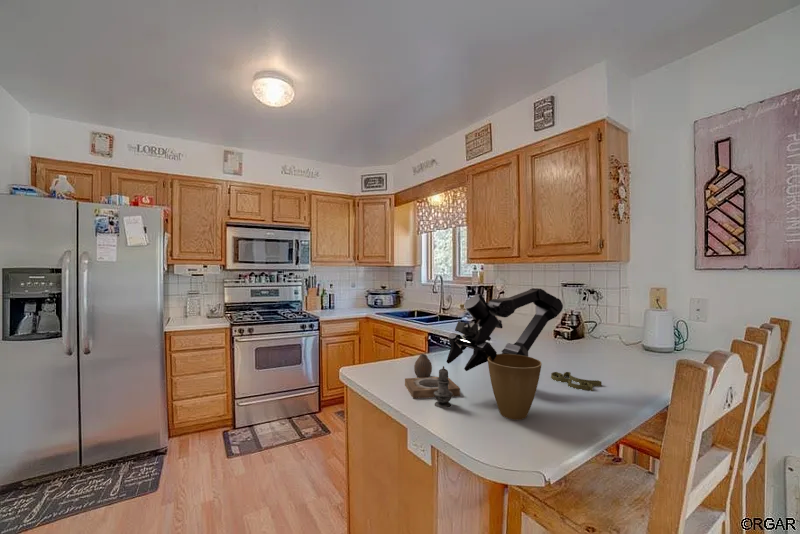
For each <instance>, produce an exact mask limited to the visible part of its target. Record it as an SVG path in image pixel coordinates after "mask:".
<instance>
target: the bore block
mask: <svg viewBox="0 0 800 534" xmlns="http://www.w3.org/2000/svg"><path fill="white" fill-rule="evenodd" d="M438 380H439V376H429V377H425V378H418V377H407V378H404V386H405V388H406V389H408V390H407V391H408V393H409V394H410V396H411V398H412V399H427V398H429V397H430V398H435V395H434V392H435V391H437V390H438ZM448 380H449V382H448V389H449V391H450V392H452V393H453V395H452V397H460V396H461V388H460V386H458V384H456V382H454V381H453V380H452V379H451V378H449V377H448ZM434 386H436V387H434Z"/></svg>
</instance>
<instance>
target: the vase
mask: <svg viewBox="0 0 800 534" xmlns="http://www.w3.org/2000/svg"><path fill="white" fill-rule="evenodd" d="M413 370H414V371H413V372H414V374H415V376H416V378H418V377H419V378H425V377H431V375H432V371H433V366H432V362H431V360H430V359H429V358H428V355H427V354H425V353H421V354H420V355H419V356H418V358H417V359H416V360H415V363H414V365H413Z"/></svg>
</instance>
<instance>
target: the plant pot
mask: <svg viewBox="0 0 800 534" xmlns="http://www.w3.org/2000/svg"><path fill="white" fill-rule="evenodd" d="M487 363H488V373H489V377H490V384H491V388H492V391H493V392H492V393H493V396H494V399H495V402H496V405H497V408H498V411H499V413H500V415H501V416H502V417H504V418H506V419H509V420H512V421H513V420H514V421H515V420H516V421H519V420H520V421H521V420H525V419H526V418H527V416H528V414H529V412H530V409H531V407H532V405H533V402H534V399H535V396H536V392H537V389H538V385H539V380H540V375H541V371H542V364H543V363H542V362H541V361H540V360H539V359H537V358H534V357H532V356H529V355H528V356H523V355H516V354H502V353H497V356H496V358H495V359H494V361H493V360H492V358H491V357H490V356H489V357H488V362H487Z"/></svg>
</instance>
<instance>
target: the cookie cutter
mask: <svg viewBox="0 0 800 534" xmlns="http://www.w3.org/2000/svg"><path fill="white" fill-rule="evenodd" d="M557 376H558V377H557ZM565 376H566V377H565ZM564 377H565V378H564ZM567 377H569V378H570V379H569V378H567ZM551 378H552V379H553V380H552V379H551ZM550 379H551V380H552V381H555V380H556V381H555V382H558V381H561V382H560V383H564V382H567V383H566V384H567V387H569V386H570V387H569V388H571V387H573V388H572V389H575V388H576V390H579V389H582V391H590V390H591V391H590V392H594V390H593V389H594V387H602V384H603V383H602V381H601V380H597V379H595V380H593V379H582V378H578V377H575V376H573V375H572V374H571V372H570V371H565V372H564V373H561V372H558V371H553V372H551V375H550ZM572 380H573V381H572ZM574 381H575V382H574ZM573 382H574V383H573ZM577 382H579V383H577Z"/></svg>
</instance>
